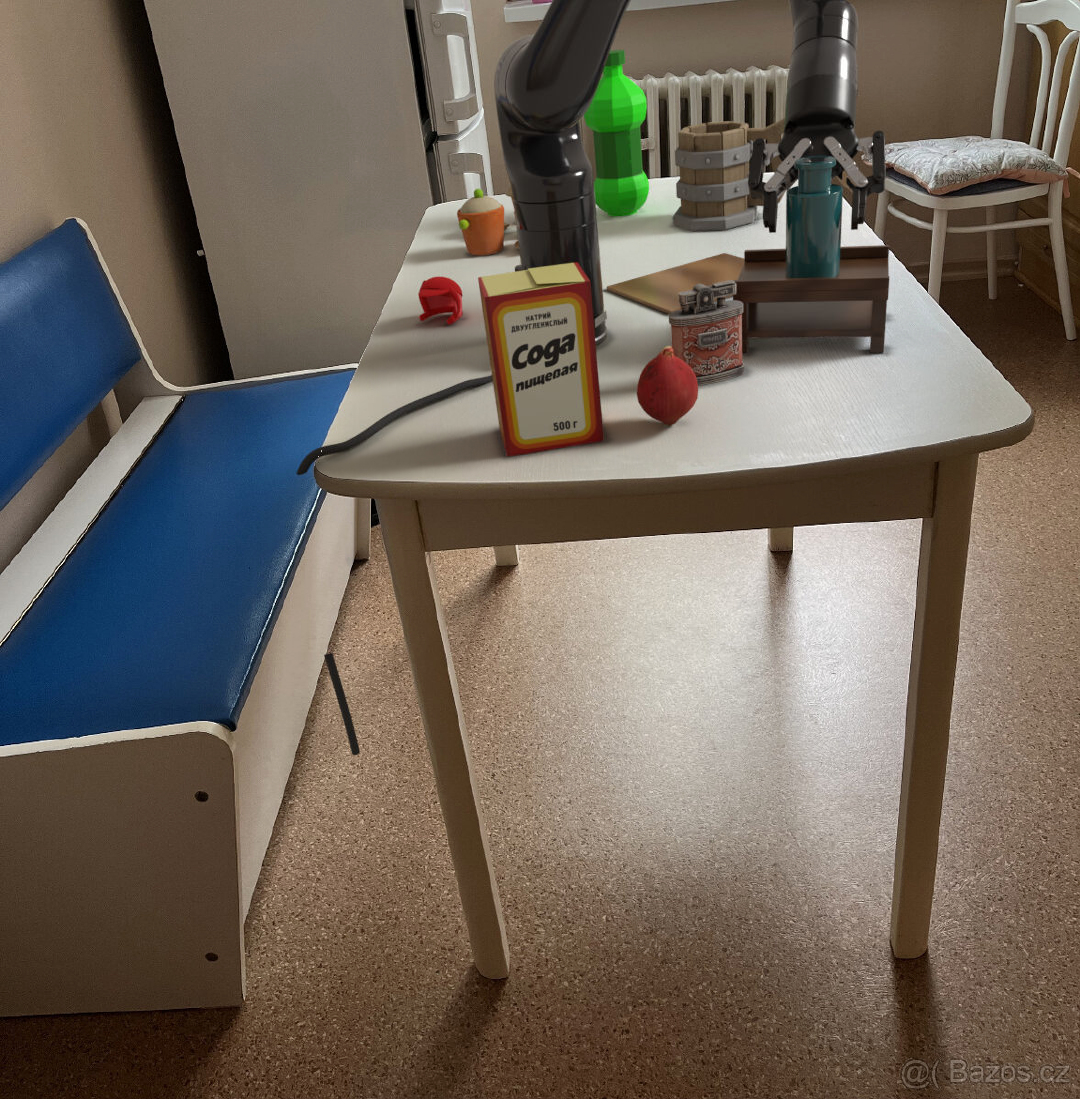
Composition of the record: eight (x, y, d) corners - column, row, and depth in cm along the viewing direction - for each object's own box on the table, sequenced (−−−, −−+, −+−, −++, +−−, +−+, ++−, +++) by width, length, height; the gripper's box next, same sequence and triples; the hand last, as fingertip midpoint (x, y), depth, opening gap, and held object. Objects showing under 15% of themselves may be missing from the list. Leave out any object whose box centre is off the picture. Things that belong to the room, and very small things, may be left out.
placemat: (670, 315, 128) (670, 311, 128) (606, 289, 140) (606, 286, 140) (795, 277, 136) (795, 273, 135) (724, 256, 147) (724, 252, 147)
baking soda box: (507, 456, 99) (484, 293, 90) (499, 429, 104) (477, 273, 96) (604, 440, 99) (589, 277, 91) (591, 414, 105) (577, 258, 97)
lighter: (679, 390, 108) (675, 297, 103) (666, 379, 110) (662, 288, 105) (749, 374, 109) (749, 281, 104) (735, 364, 112) (734, 273, 107)
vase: (810, 285, 110) (812, 168, 104) (774, 274, 115) (775, 161, 109) (851, 272, 112) (856, 157, 106) (814, 262, 117) (817, 151, 111)
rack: (733, 354, 115) (732, 281, 111) (745, 317, 124) (744, 249, 120) (884, 353, 110) (889, 277, 106) (884, 315, 120) (889, 244, 116)
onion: (651, 442, 98) (646, 362, 94) (631, 420, 103) (625, 343, 99) (708, 429, 99) (706, 350, 95) (685, 408, 104) (682, 331, 100)
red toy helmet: (425, 313, 140) (417, 269, 137) (468, 309, 139) (461, 265, 136) (416, 333, 133) (407, 287, 130) (461, 329, 133) (454, 283, 129)
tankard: (668, 232, 162) (664, 131, 154) (683, 211, 172) (679, 115, 164) (799, 228, 156) (801, 122, 148) (806, 207, 166) (808, 107, 158)
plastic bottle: (586, 211, 180) (572, 54, 167) (644, 202, 181) (635, 45, 168) (599, 224, 171) (585, 59, 158) (660, 214, 172) (652, 49, 159)
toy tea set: (561, 252, 159) (555, 187, 154) (461, 264, 159) (452, 200, 154) (553, 213, 181) (547, 155, 176) (466, 223, 182) (457, 166, 177)
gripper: (753, 77, 112) (742, 212, 109) (891, 65, 108) (884, 205, 104) (758, 120, 119) (748, 248, 116) (887, 111, 115) (881, 243, 111)
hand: (813, 227), depth 110 cm, fingers open, 8 cm apart
